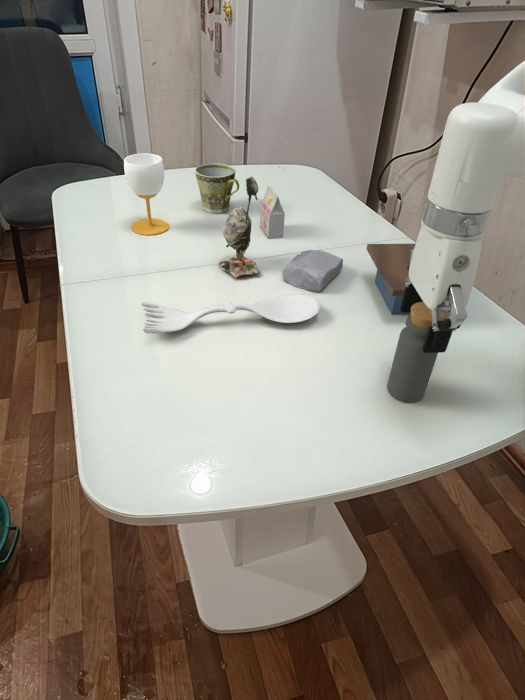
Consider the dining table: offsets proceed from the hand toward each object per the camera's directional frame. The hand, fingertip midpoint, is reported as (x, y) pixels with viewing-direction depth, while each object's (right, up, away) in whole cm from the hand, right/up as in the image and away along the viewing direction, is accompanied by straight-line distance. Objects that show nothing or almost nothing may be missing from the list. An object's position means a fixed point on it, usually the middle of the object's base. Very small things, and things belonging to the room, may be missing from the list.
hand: (421, 330), depth 73 cm
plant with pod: (-28, +15, +36) cm, 48 cm away
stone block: (-13, +13, +35) cm, 39 cm away
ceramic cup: (-34, +33, +59) cm, 76 cm away
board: (+6, +13, +26) cm, 29 cm away
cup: (-50, +27, +50) cm, 75 cm away
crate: (+6, +8, +29) cm, 31 cm away
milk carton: (-20, +26, +50) cm, 60 cm away
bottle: (0, -9, +7) cm, 12 cm away
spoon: (-28, +2, +21) cm, 35 cm away
